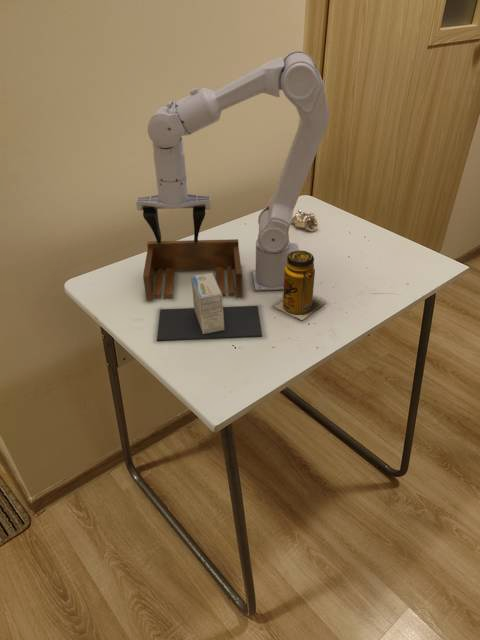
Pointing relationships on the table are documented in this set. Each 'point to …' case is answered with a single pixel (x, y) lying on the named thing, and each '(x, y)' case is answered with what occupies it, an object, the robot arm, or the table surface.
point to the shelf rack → (191, 264)
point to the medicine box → (208, 303)
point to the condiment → (299, 286)
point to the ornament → (305, 220)
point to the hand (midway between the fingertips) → (177, 240)
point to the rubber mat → (188, 328)
